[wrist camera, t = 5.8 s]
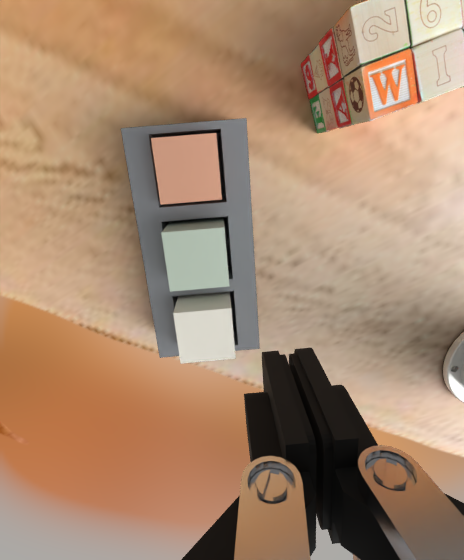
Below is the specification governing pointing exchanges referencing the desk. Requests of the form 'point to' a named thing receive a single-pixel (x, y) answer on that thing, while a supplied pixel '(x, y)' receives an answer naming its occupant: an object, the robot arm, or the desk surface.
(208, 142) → the terracotta button
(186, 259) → the sage button
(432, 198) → the desk surface
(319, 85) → the stack of blocks
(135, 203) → the frame
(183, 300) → the cream button
